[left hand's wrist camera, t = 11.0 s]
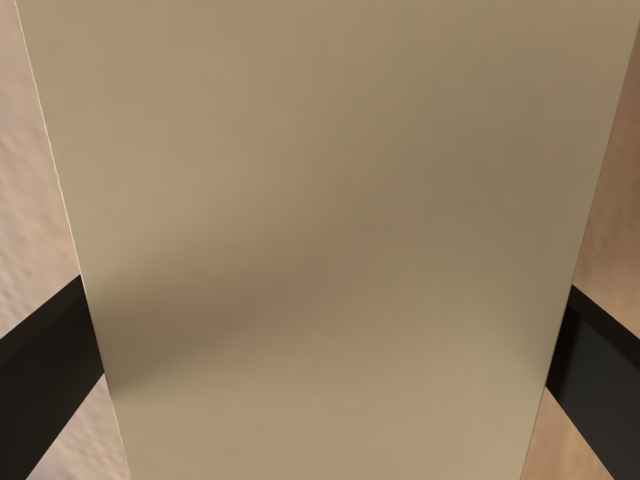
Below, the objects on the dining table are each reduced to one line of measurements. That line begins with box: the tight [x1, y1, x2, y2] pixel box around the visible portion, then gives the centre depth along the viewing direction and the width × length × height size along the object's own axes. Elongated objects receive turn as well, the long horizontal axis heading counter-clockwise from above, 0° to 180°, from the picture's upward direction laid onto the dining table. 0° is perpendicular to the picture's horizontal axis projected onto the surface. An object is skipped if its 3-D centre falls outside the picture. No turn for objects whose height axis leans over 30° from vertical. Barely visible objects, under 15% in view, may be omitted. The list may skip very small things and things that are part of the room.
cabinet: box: [14, 0, 640, 480], centre depth 12 cm, size 19×11×8 cm, turn 0°
